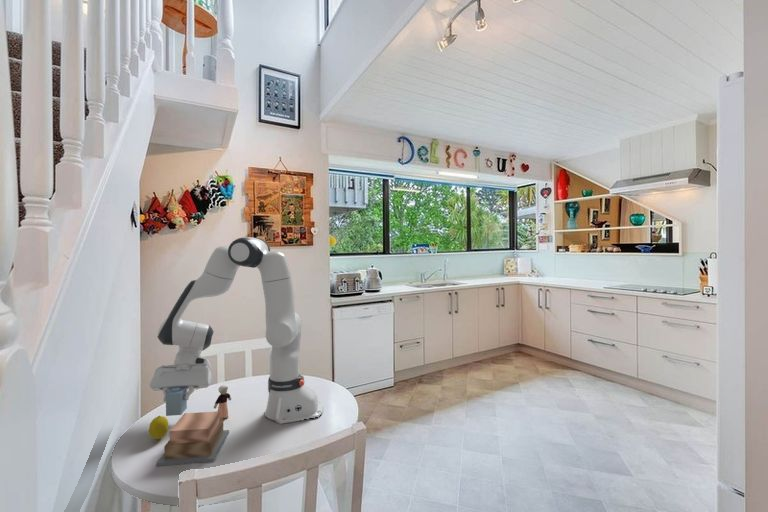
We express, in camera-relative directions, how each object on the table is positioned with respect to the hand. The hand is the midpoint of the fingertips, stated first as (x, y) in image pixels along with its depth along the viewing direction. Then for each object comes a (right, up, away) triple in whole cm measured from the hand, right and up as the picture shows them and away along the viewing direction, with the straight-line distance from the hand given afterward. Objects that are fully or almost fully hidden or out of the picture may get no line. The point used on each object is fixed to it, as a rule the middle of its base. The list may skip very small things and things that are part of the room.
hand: (175, 400), depth 124 cm
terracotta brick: (+15, -9, -14) cm, 22 cm away
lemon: (0, -9, -9) cm, 13 cm away
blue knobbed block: (0, -5, +1) cm, 5 cm away
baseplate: (+15, -10, -14) cm, 22 cm away
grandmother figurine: (+15, -9, +6) cm, 18 cm away
